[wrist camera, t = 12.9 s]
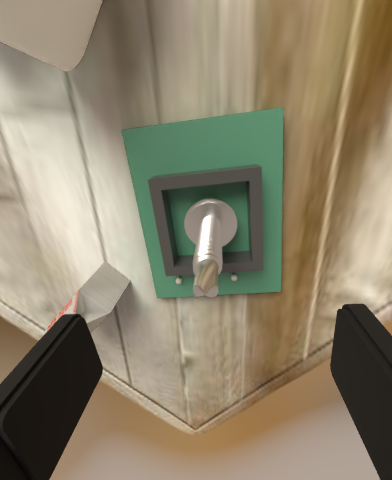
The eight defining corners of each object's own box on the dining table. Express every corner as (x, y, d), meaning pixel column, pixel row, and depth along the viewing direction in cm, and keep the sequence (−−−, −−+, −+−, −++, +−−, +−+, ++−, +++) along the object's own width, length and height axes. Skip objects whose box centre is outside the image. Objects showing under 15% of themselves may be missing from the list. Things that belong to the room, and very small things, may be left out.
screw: (176, 216, 24) (212, 183, 23) (209, 249, 25) (246, 219, 24) (137, 290, 12) (208, 230, 11) (202, 347, 13) (275, 299, 12)
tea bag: (130, 280, 29) (90, 345, 20) (100, 312, 31) (51, 383, 22) (105, 261, 28) (51, 319, 19) (76, 295, 31) (15, 361, 21)
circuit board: (279, 109, 21) (292, 103, 18) (278, 285, 28) (287, 306, 24) (126, 130, 23) (110, 128, 19) (159, 292, 29) (151, 312, 26)
